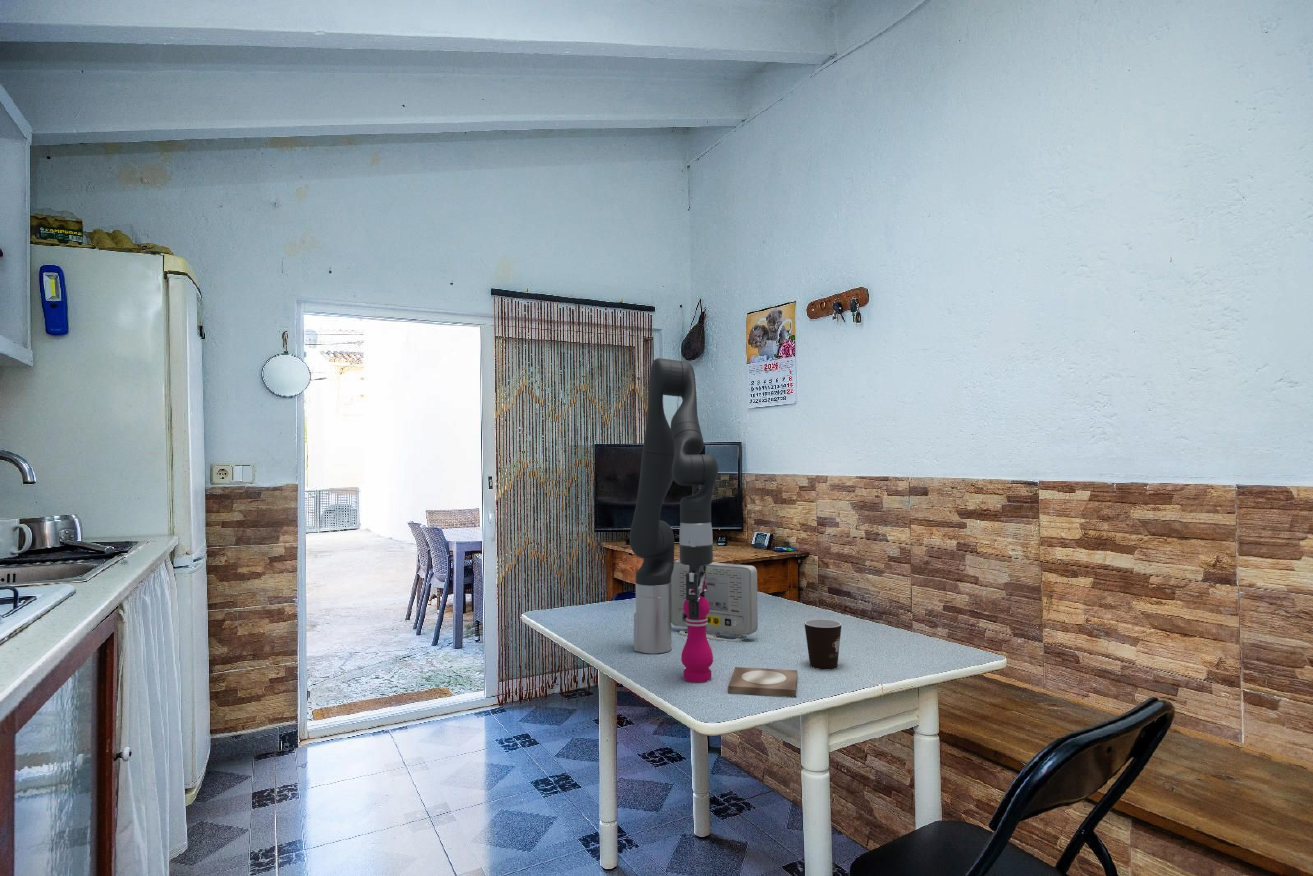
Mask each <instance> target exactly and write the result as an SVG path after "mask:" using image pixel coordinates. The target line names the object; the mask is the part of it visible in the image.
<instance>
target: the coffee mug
mask: <svg viewBox="0 0 1313 876" xmlns="http://www.w3.org/2000/svg"><path fill="white" fill-rule="evenodd" d="M842 625H843V624H842V623H841V622H840V621H838V620H835V619H824V618H823V619H822V618H818V619H817V618H816V619H808V620H806V621H804V631H805V639H806V644H807V645H806V646H807V652H808V654H807V655H808V661H809V666H810V667H811V666H812V667H811V668H813V667H814V669H816V668H819V669H818V670H823V669H830V670H834V668H835V669H837V668H838V666H839V665H838V664H839V663H838V662H839V654H840V643H841V634H842Z"/></svg>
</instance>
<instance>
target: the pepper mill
mask: <svg viewBox="0 0 1313 876" xmlns="http://www.w3.org/2000/svg"><path fill="white" fill-rule="evenodd" d="M693 595H695V593H693ZM683 610H684V613H685V614H686V615H687V617H686V624H687V625H688V627H687V628H688V632H687V633H688V636H687V637H686V641H685V644H684V646H683V648H682V651H681V654H680V655H681V658H680V661H681V663H682V665H683V666H684V669H683V679H684V680H685V681H686V682H690V683H705V682H708V680H709V681H711V679H712V670H711V669H710V667H711V666H712V664H713V663H714V654H713V650H712V647H711V645H710V643H709V640H707V636H706V633H707V632H706V625H707V624H708V622H707V620H708V618H707V617H706V616H707V614H708V613H709V611H710V605H709V602H708V600H707V599H706V598H704V597H702V596H700V600H699V618H698V619H690V618H689V602H688V600H685V602H684V605H683Z"/></svg>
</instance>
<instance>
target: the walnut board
mask: <svg viewBox="0 0 1313 876" xmlns="http://www.w3.org/2000/svg"><path fill="white" fill-rule="evenodd" d="M797 685H798V670H797V669H783V668H782V669H780V668H779V669H778V668H761V667H746V666H745V667H744V666H743V667H741V666H740V667H739V666H734V670H733V672H732V675H731V677H730V680H729V682H728V685H727V694H733V693H734V694H733V695H735V694H737V695H753V696H767V697H770V696H771V697H783V696H787V698H796V697H797V687H798V686H797ZM788 696H790V697H788ZM792 696H793V697H792Z"/></svg>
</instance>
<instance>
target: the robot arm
mask: <svg viewBox="0 0 1313 876" xmlns="http://www.w3.org/2000/svg"><path fill="white" fill-rule="evenodd" d="M696 383H697V382H696V375H695V370H694V368H693V365H692V364H691V363H690V362H688V361H682V360H677V359H670V358H662V357H660V358H659V357H657V358H655V359H654V360H653V361H652V363H651V366H650V371H649V375H648V388H647V389H648V393H647V395H648V397H647V414H646V425H645V433H644V441H643V447H642V455H641V463H640V475H639V480H638V481H639V482H638V489H637V496H636V502H635V503H636V505H635V509H634V513H633V518H632V522H631V527H630V533H629V544H630V545H629V546H630V549H631V551H632V553H633V554H634V555H636V556H637V557H638V558H641V559H642V560H643V561H642V564H641V566H640V567H639V569H637V571H636V572H635V578H634V579H635V612H634V613H633V651H634V652H639V653H644V654H663V653H668V652H670V651H671V650H672V649H673V648H672V645H673V644H672V642H673V641H672V640H673V639H672V623H671V575H672V572H673V568H674V562H675V535H674V532H673V529H672V527H671V526H670V524H669V523H668V522H666V521H664V520H661V511H662V507H663V503H664V500H665V499H666V496H667V494H668V492H669V490H670V488H671V486H672V483H673V481H674V482H675V484H677V485H679V486H700V489H699V490H698V492H697V493H694V494H692V495H686V496H685V497H682V498H681V499H680V501H679V521H680V522H679V531H678V532H679V534H678V535H679V536H678V537H679V560H680V563H681V564H684V565H689V567H690V568H689V573H686V600H688V602H689V618H690V619H698V618H699V600H700V596H702V597H704V598H705V593H706V589H707V580H706V575H707V574H706V568H707V566H706V565H708V564H711V563H714V560H713V559H714V552H713V551H714V549H713V548H714V547H713V546H714V544H713V540H714V539H713V537H714V536H713V527H712V500H713V495H714V494H713V493H714V489H715V485H716V482H717V479H718V478H717V477H718V474H719V464H718V460H717V459H716V458H715V457H714V456H713V455H712V454H709V453H705V454H702V451H703V450H704V446H705V444H704V443H705V442H704V437H703V434H702V431H701V430H702V429H701V425H700V422H699V417H698V416H699V415H698V400H697V399H698V398H697V384H696ZM664 396H670V397H680V398H681V399H682V402H681V404H680V405H679V407H678V409H677V410H676V412H675V413H674V414H673V416H672V419H671V421H670V422H671V423H670V424H669V421H668V420H667V417H666V414H665V409H664ZM700 453H701V454H700ZM691 593H695V595H691Z"/></svg>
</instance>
